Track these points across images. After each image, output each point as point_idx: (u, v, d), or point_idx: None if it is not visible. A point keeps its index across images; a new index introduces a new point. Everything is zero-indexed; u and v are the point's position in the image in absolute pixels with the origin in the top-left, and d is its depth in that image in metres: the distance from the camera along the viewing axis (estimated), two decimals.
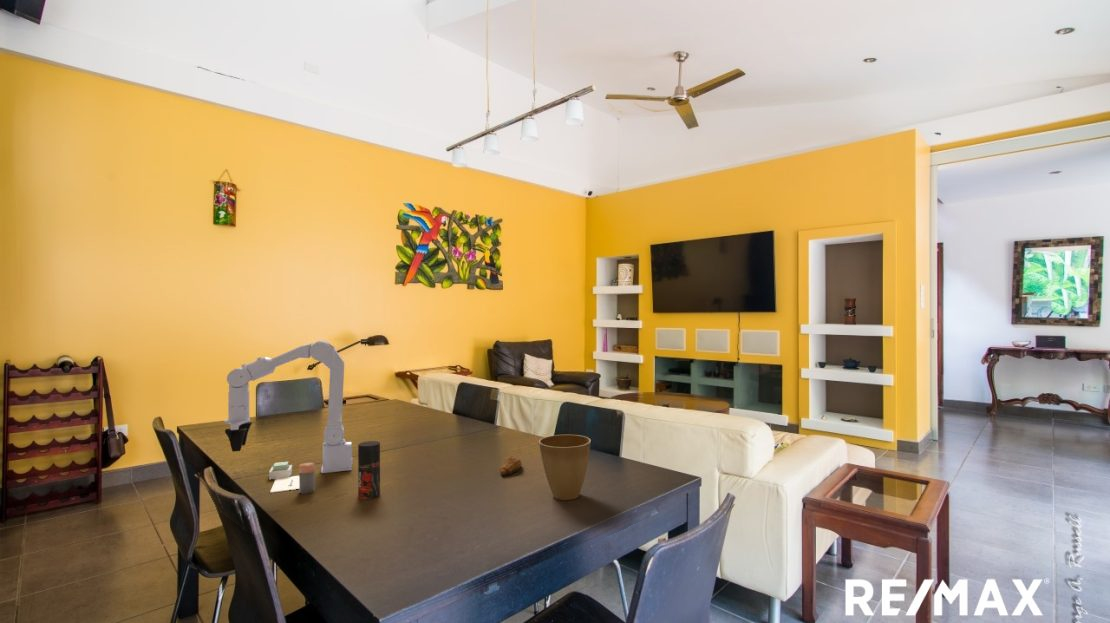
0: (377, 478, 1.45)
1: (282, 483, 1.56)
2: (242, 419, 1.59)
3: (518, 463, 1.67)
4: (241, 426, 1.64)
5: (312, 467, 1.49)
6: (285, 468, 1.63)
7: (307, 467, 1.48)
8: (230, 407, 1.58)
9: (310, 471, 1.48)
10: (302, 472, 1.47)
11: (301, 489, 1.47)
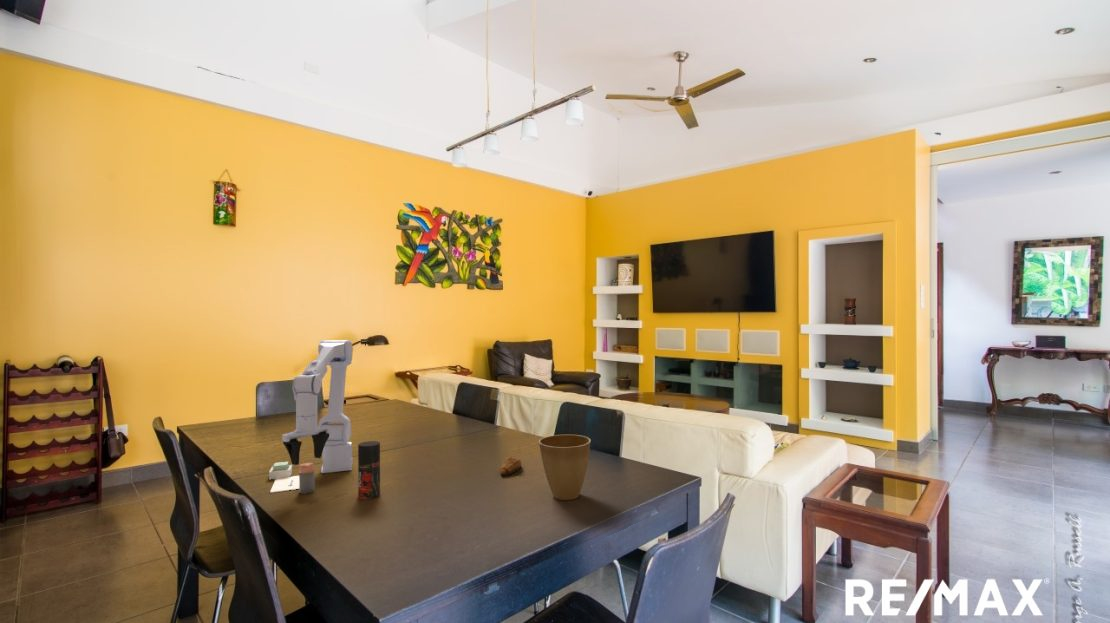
0: (377, 478, 1.45)
1: (282, 483, 1.56)
2: (302, 430, 1.47)
3: (518, 463, 1.67)
4: (317, 437, 1.53)
5: (312, 467, 1.49)
6: (285, 468, 1.63)
7: (307, 467, 1.48)
8: (296, 416, 1.49)
9: (310, 471, 1.48)
10: (302, 472, 1.47)
11: (301, 489, 1.47)
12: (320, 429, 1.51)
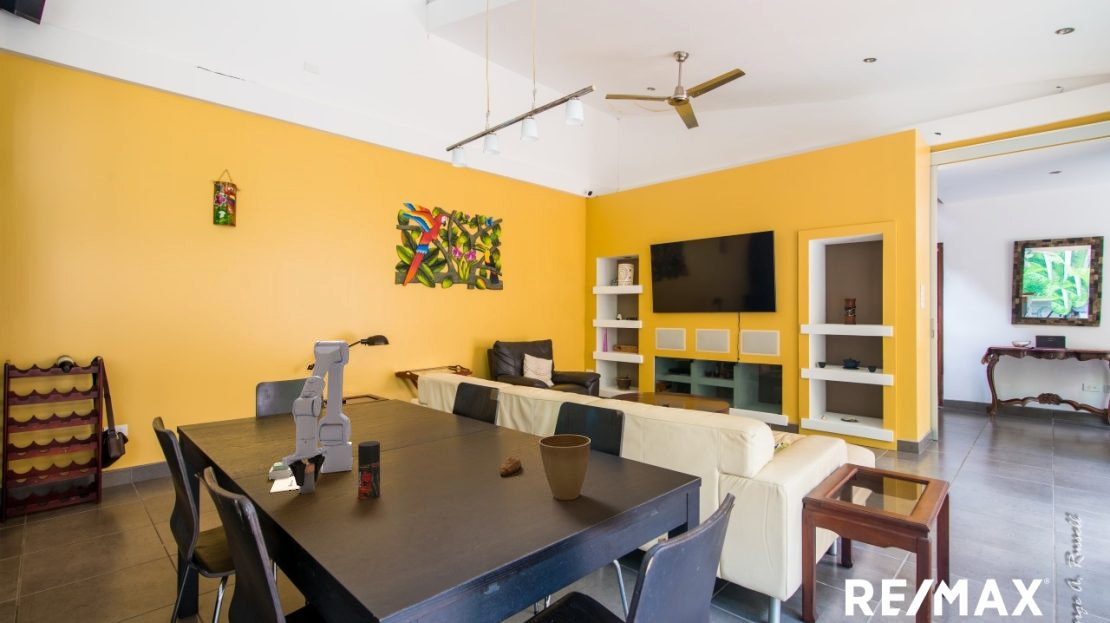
0: (377, 478, 1.45)
1: (282, 483, 1.56)
2: (302, 453, 1.47)
3: (518, 463, 1.67)
4: (313, 460, 1.51)
5: (312, 467, 1.49)
6: (285, 468, 1.63)
7: (307, 467, 1.48)
8: (296, 438, 1.49)
9: (310, 471, 1.48)
10: None
11: (301, 489, 1.47)
12: (320, 451, 1.51)
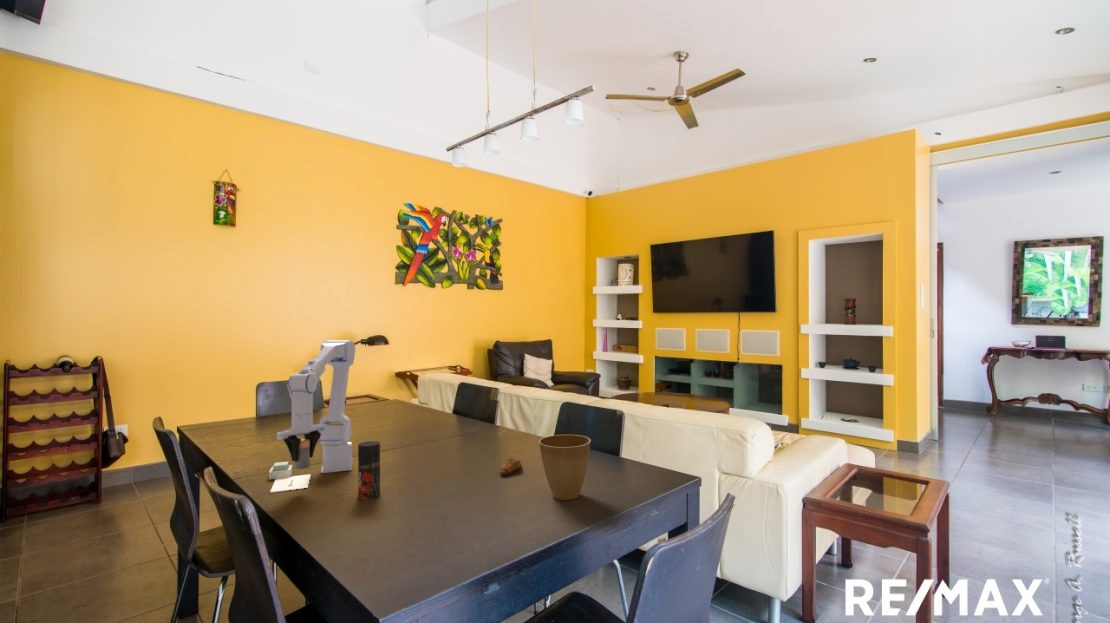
0: (377, 478, 1.45)
1: (282, 483, 1.56)
2: (297, 429, 1.48)
3: (518, 463, 1.67)
4: (309, 436, 1.53)
5: (307, 443, 1.50)
6: (285, 468, 1.63)
7: (302, 442, 1.49)
8: None
9: (305, 447, 1.50)
10: None
11: (296, 464, 1.49)
12: (315, 427, 1.52)
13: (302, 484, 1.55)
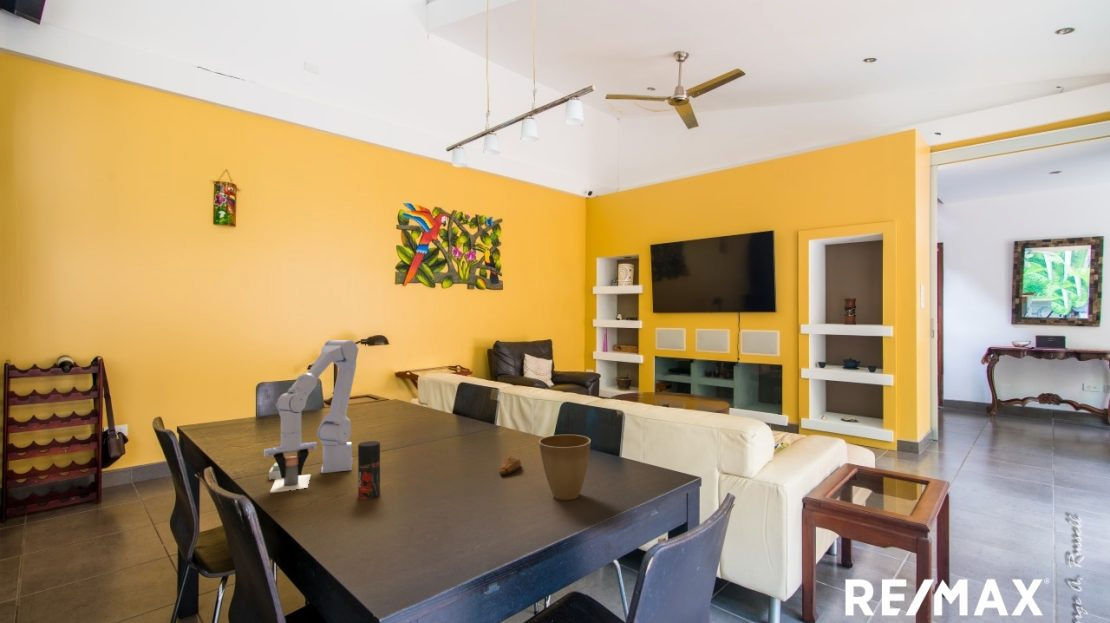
0: (377, 478, 1.45)
1: (282, 483, 1.56)
2: (283, 447, 1.53)
3: (518, 463, 1.67)
4: (298, 454, 1.57)
5: (293, 461, 1.54)
6: None
7: (288, 460, 1.53)
8: None
9: (291, 464, 1.54)
10: (284, 465, 1.54)
11: (284, 481, 1.54)
12: (303, 446, 1.56)
13: (302, 484, 1.55)
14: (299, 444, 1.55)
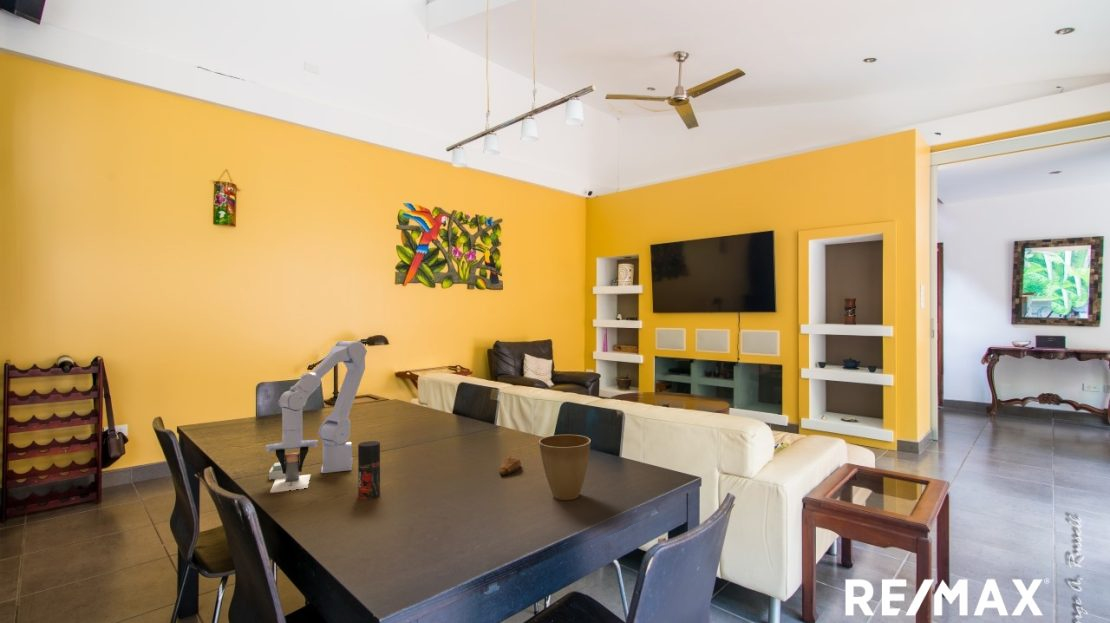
0: (377, 478, 1.45)
1: (282, 483, 1.56)
2: (283, 443, 1.57)
3: (518, 463, 1.67)
4: None
5: (293, 457, 1.58)
6: None
7: (288, 457, 1.57)
8: None
9: (291, 461, 1.58)
10: (285, 461, 1.58)
11: (285, 476, 1.58)
12: (303, 444, 1.59)
13: (302, 484, 1.55)
14: (299, 441, 1.59)
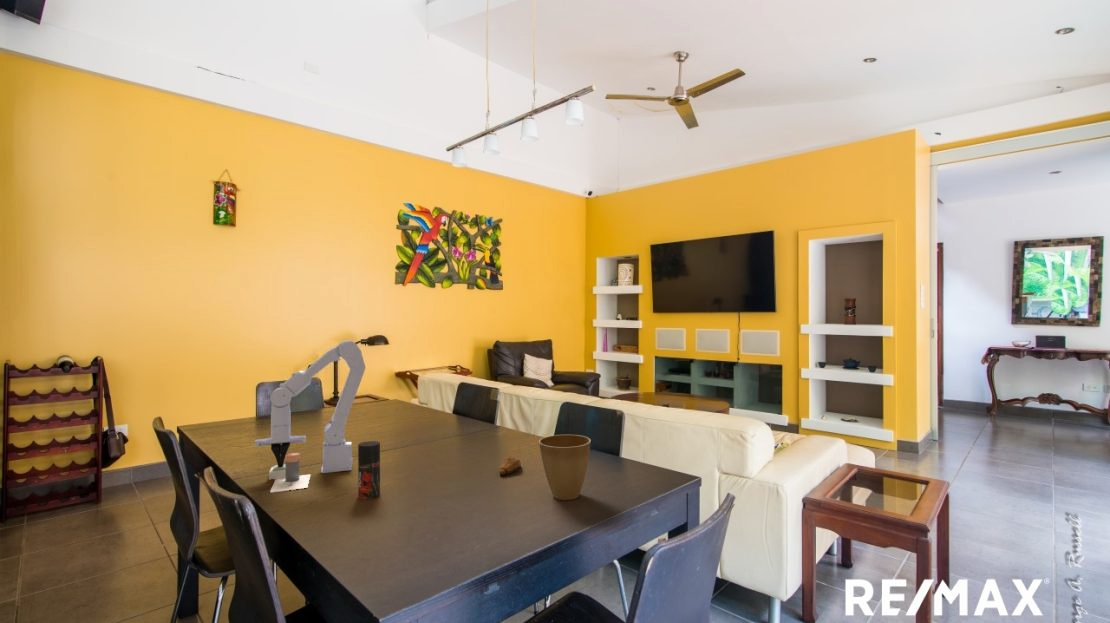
0: (377, 478, 1.45)
1: (282, 483, 1.56)
2: (271, 438, 1.62)
3: (517, 463, 1.67)
4: (281, 447, 1.64)
5: (293, 458, 1.58)
6: None
7: (288, 457, 1.57)
8: None
9: (291, 461, 1.58)
10: (285, 461, 1.58)
11: (285, 476, 1.58)
12: (290, 439, 1.64)
13: (302, 484, 1.55)
14: (286, 437, 1.63)
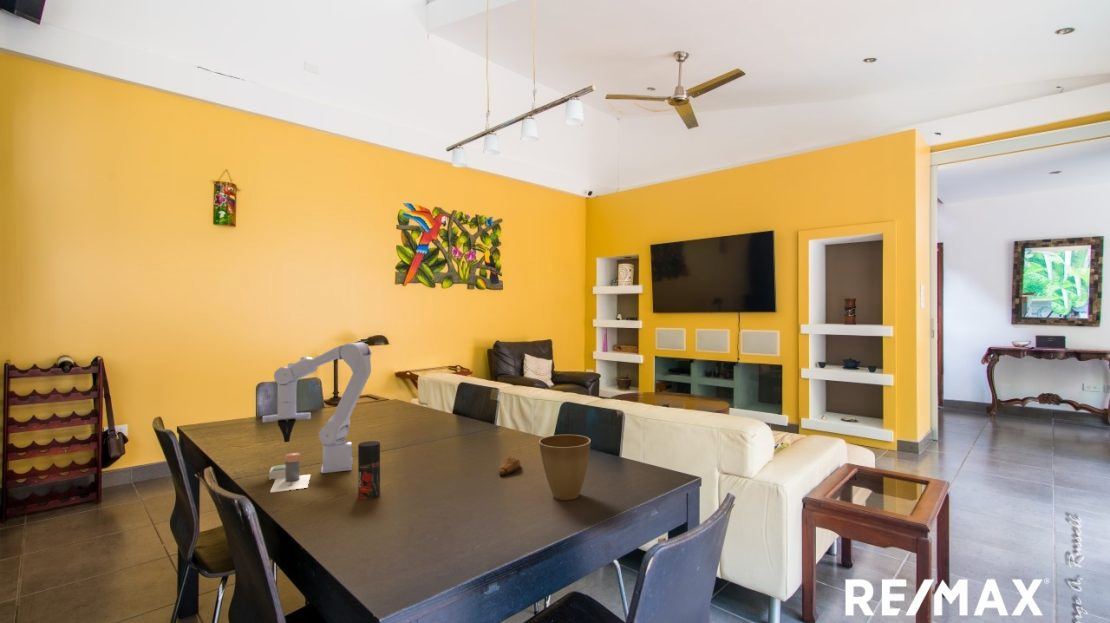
0: (377, 478, 1.45)
1: (282, 483, 1.56)
2: (278, 414, 1.70)
3: (517, 463, 1.67)
4: None
5: (293, 458, 1.58)
6: None
7: (288, 457, 1.57)
8: None
9: (291, 461, 1.58)
10: (285, 461, 1.58)
11: (285, 476, 1.58)
12: (296, 415, 1.72)
13: (302, 484, 1.55)
14: (292, 413, 1.71)
